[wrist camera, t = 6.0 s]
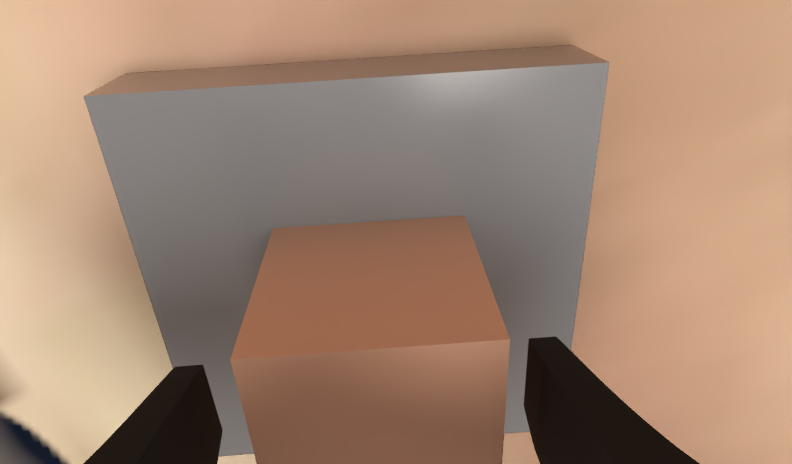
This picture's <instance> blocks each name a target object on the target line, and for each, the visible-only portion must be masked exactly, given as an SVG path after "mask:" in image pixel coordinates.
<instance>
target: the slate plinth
mask: <svg viewBox="0 0 792 464" xmlns="http://www.w3.org/2000/svg"><path fill="white" fill-rule="evenodd" d="M608 69H609V62H607V61H605V60H603V59H601V58H599V57H597V56H595V55H593V54H591V53H588V52H586V51H584V50H582V49H580V48H578V47H576V46H574V45H564V46H549V47H533V48H517V49H501V50H486V51H470V52H454V53H438V54H423V55H407V56H391V57H375V58H359V59H344V60H328V61H312V62H296V63H281V64H265V65H249V66H233V67H217V68H202V69H186V70H170V71H154V72H139V73H126V74H124V75H122V76H120V77H118V78H117V79H115V80H113V81H111V82H109V83H107V84H105V85H104V86H102V87H100V88H98V89H96V90H94V91H92V92H91V93H89V94H87V95H85V96H84V99H85V102H86V105H87V108H88V111H89V114H90V117H91V120H92V123H93V126H94V129H95V132H96V135H97V139H98V142H99V145H100V148H101V151H102V154H103V157H104V160H105V163H106V166H107V169H108V172H109V175H110V178H111V181H112V184H113V187H114V190H115V193H116V196H117V199H118V203H119V206H120V209H121V212H122V215H123V218H124V221H125V224H126V227H127V230H128V233H129V236H130V239H131V242H132V245H133V248H134V251H135V254H136V257H137V260H138V263H139V266H140V270H141V273H142V276H143V279H144V282H145V285H146V288H147V291H148V294H149V297H150V300H151V303H152V306H153V309H154V312H155V315H156V318H157V321H158V324H159V327H160V330H161V333H162V337H163V340H164V343H165V346H166V349H167V352H168V355H169V358H170V361H171V364H172V367H173V369H174V368H175V367H178V366H191V365H203V366H204V369H205V373H206V376H207V379H208V383H209V386H210V390H211V393H212V396H213V400H214V403H215V406H216V410H217V413H218V416H219V420H220V423H221V426H222V430H223V432H222V438H221V444H220V450H219V456H230V455H242V454H254V451H253V447H252V443H251V439H250V435H249V431H248V427H247V423H246V419H245V415H244V412H243V408H242V404H241V400H240V396H239V392H238V388H237V384H236V380H235V376H234V373H233V369H232V365H231V361H230V359H231V356H232V353H233V350H234V346H235V343H236V340H237V337H238V334H239V331H240V328H241V325H242V322H243V319H244V316H245V313H246V310H247V306H248V303H249V300H250V297H251V294H252V291H253V288H254V285H255V282H256V279H257V276H258V273H259V270H260V266H261V263H262V260H263V257H264V254H265V251H266V248H267V245H268V242H269V239H270V236H271V233H272V230H273V228H286V227H300V226H315V225H330V224H345V223H360V222H374V221H389V220H404V219H419V218H434V217H448V216H463V215H464V216H465V218H466V221H467V224H468V226H469V229H470V232H471V235H472V237H473V240H474V243H475V245H476V248H477V251H478V254H479V256H480V259H481V262H482V264H483V267H484V270H485V273H486V275H487V278H488V281H489V284H490V286H491V289H492V292H493V294H494V297H495V300H496V303H497V305H498V308H499V311H500V313H501V316H502V319H503V322H504V324H505V327H506V330H507V332H508V335H509V338H510V348H509V363H508V378H507V393H506V409H505V424H504V434H505V433H517V432H530V429H529V425H528V421H527V417H526V414H525V410H524V393H525V380H526V367H527V354H528V341H529V338H542V337H554V336H556V337H557V338H558V339H560V340H561V341H562V342H563V343H564V344H565V345H566V346H567V347H568V348H569V349H570V350H571V346H572V339H573V331H574V324H575V316H576V309H577V301H578V294H579V286H580V279H581V271H582V264H583V256H584V249H585V241H586V234H587V226H588V219H589V211H590V204H591V196H592V189H593V181H594V174H595V166H596V159H597V151H598V144H599V136H600V129H601V121H602V114H603V106H604V99H605V91H606V84H607V76H608Z"/></svg>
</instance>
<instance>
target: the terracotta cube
mask: <svg viewBox="0 0 792 464" xmlns="http://www.w3.org/2000/svg"><path fill="white" fill-rule="evenodd" d="M509 348H510V338H509V335H508V332H507V330H506V327H505V324H504V322H503V319H502V316H501V313H500V311H499V308H498V305H497V303H496V300H495V297H494V294H493V292H492V289H491V286H490V284H489V281H488V278H487V275H486V273H485V270H484V267H483V264H482V262H481V259H480V256H479V254H478V251H477V248H476V245H475V243H474V240H473V237H472V235H471V232H470V229H469V226H468V224H467V221H466V218H465V216H464V215H463V216H448V217H434V218H419V219H404V220H389V221H374V222H360V223H345V224H330V225H315V226H300V227H286V228H273V230H272V233H271V236H270V239H269V242H268V245H267V248H266V251H265V254H264V257H263V260H262V263H261V266H260V270H259V273H258V276H257V279H256V282H255V285H254V288H253V291H252V294H251V297H250V300H249V303H248V306H247V310H246V313H245V316H244V319H243V322H242V325H241V328H240V331H239V334H238V337H237V340H236V343H235V346H234V350H233V353H232V356H231V359H230V361H231V365H232V369H233V373H234V376H235V380H236V384H237V388H238V392H239V396H240V400H241V404H242V408H243V412H244V415H245V419H246V423H247V427H248V431H249V435H250V439H251V443H252V447H253V451H254V454H255V458H256V462H257V464H502V454H503V439H504V424H505V409H506V393H507V378H508V363H509Z"/></svg>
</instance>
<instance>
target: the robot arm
mask: <svg viewBox="0 0 792 464" xmlns="http://www.w3.org/2000/svg"><path fill="white" fill-rule="evenodd" d="M524 410H525V414H526V417H527V421H528V425H529V429H530V433H531V437H532V441H533V444H534V448H535V451H536V454H537V456H538V459H539V462H540V464H699V463H698V462H696V461H695V460H694V459H692V458H691V457H690V456H688V455H687V454H685V453H684V452H683V451H681V450H680V449H679V448H678V447H676V446H675V445H674V444H672V443H671V442H670V441H669V440H667V439H666V438H665V437H664V436H662V435H661V434H660V433H659V432H658V431H656V430H655V429H654V428H653V427H652V426H650V425H649V424H648V423H647V422H646V421H645V420H643V419H642V418H641V417H640V416H639V415H638V414H637V413H635V412H634V411H633V410H632V409H631V408H630V407H629V406H628V405H626V404H625V403H624V402H623V401H622V400H621V399H620V398H619V397H618V396H617V395H616V394H615V393H613V392H612V391H611V390H610V389H609V388H608V387H607V386H606V385H605V384H604V383H603V382H602V381H601V380H600V379H599V378H598V377H597V376H596V375H595V374H594V373H593V372H592V371H590V370H589V369H588V368H587V367H586V366H585V365H584V364H583V363H582V362H581V361H580V360H579V359H578V358H577V357H576V356H575V355H574V353H573V352H572V351H571V350H570V349H569V348H568V347H567V346H566V345H565V344H564V343H563V342H562V341H561V340H560V339H558V338H557V337H556V336H554V337H542V338H529V341H528V354H527V367H526V380H525V393H524ZM222 432H223V430H222V426H221V423H220V420H219V416H218V413H217V410H216V406H215V403H214V400H213V396H212V393H211V390H210V386H209V383H208V379H207V376H206V373H205V369H204V366H203V365H191V366H178V367H175V368H174V369H173V370H172V371H171V372H170V373H169V374H168V375H167V376H166V377H165V378H164V379H163V380H162V381H161V383H160V384H159V385H158V386H157V387H156V388H155V389H154V390H153V391H152V392H151V393H150V395H149V396H148V397H147V398H146V399H145V400H144V401H143V402H142V403H141V404H140V406H139V407H138V408H137V409H136V410H135V411H134V412H133V413H132V414H131V415H130V416H129V417H128V419H127V420H126V421H125V422H124V423H123V424H122V425H121V426H120V427H119V428H118V429H117V430H116V431H115V432H114V433H113V434H112V435H111V437H110V438H109V439H108V440H107V441H106V442H105V443H104V444H103V445H102V446H101V447H100V448H99V449H98V450H97V451H96V452H95V453H94V454H93V455H92V456H91V457H90V458H89V459H88V460H87V461H86V462H85V463H84V464H217V461H218V456H219V450H220V444H221V438H222Z"/></svg>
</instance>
